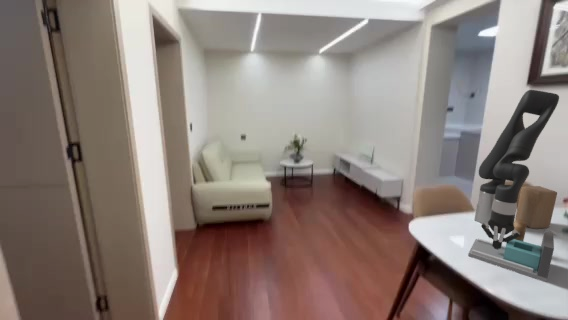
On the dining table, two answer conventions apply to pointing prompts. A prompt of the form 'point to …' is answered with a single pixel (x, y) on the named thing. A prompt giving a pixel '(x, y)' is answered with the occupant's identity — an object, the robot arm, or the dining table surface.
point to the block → (536, 206)
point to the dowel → (520, 229)
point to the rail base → (489, 254)
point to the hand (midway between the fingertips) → (496, 248)
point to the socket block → (523, 253)
